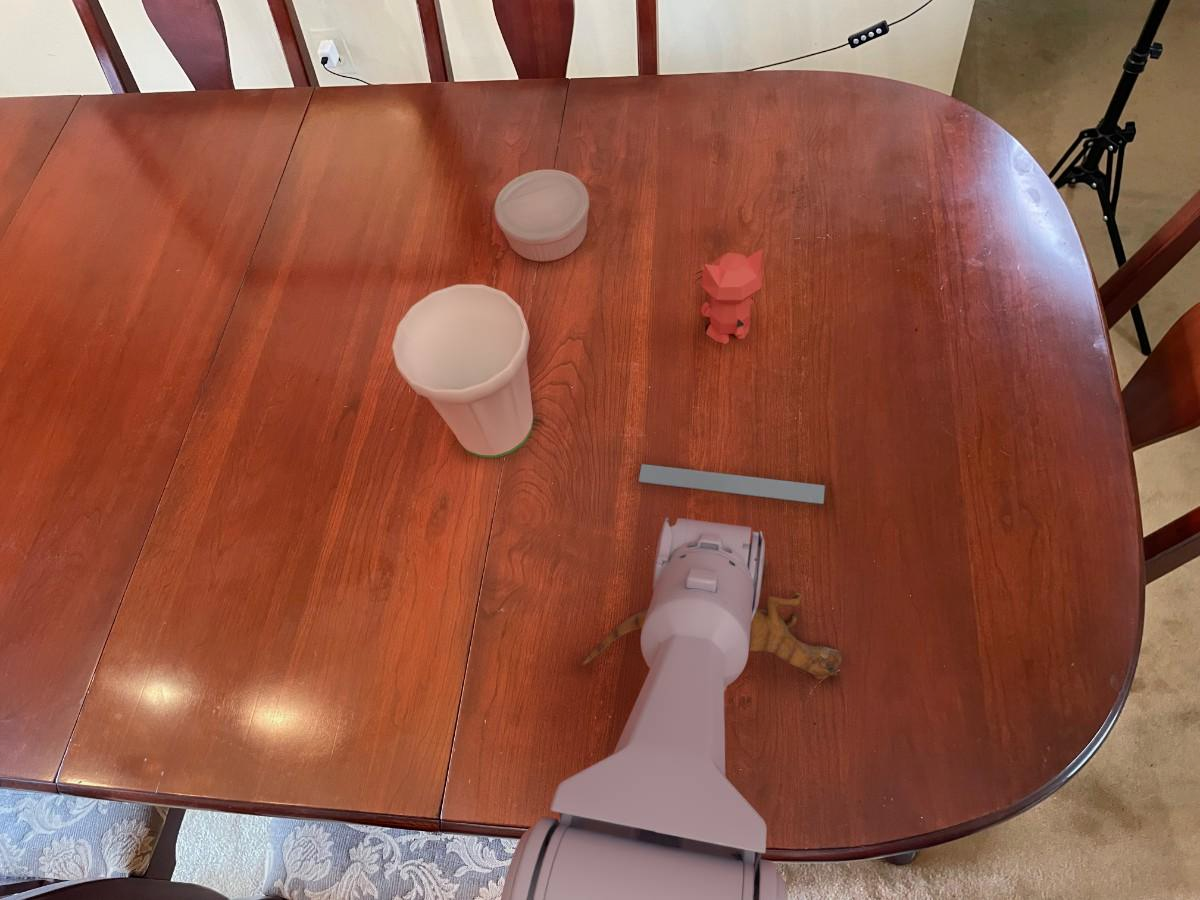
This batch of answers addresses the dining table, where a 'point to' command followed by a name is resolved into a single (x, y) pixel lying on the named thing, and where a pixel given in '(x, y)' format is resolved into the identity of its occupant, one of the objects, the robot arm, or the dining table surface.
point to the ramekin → (543, 214)
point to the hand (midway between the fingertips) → (706, 666)
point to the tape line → (732, 484)
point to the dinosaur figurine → (760, 639)
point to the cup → (470, 365)
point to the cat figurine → (731, 293)
